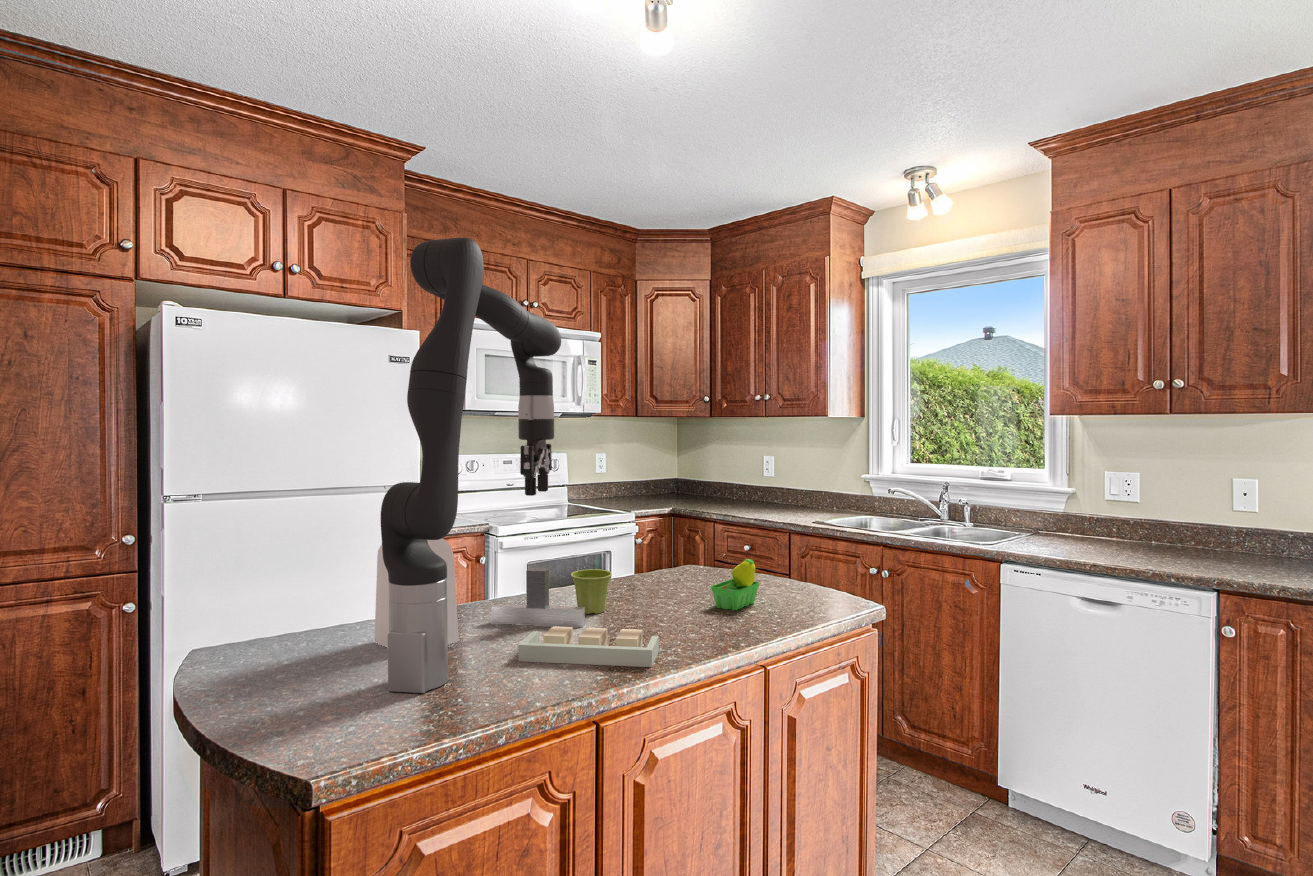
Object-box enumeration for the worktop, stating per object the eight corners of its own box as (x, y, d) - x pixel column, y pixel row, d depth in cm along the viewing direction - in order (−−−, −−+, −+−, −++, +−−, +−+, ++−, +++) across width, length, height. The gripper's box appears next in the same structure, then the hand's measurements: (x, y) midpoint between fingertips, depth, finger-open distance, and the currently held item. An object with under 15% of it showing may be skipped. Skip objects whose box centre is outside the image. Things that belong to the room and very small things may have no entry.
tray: (652, 667, 125) (652, 650, 125) (518, 661, 129) (518, 644, 129) (658, 651, 134) (658, 636, 134) (533, 646, 137) (533, 631, 137)
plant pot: (620, 609, 165) (620, 572, 164) (595, 619, 157) (595, 579, 156) (588, 604, 170) (588, 567, 169) (562, 613, 162) (562, 575, 161)
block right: (637, 661, 129) (637, 639, 129) (615, 660, 130) (615, 638, 130) (642, 650, 135) (642, 629, 135) (621, 649, 136) (621, 629, 135)
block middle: (599, 659, 130) (599, 637, 130) (578, 658, 131) (578, 636, 131) (607, 649, 136) (607, 628, 136) (587, 648, 137) (587, 627, 137)
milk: (459, 641, 141) (457, 510, 140) (404, 655, 132) (402, 516, 132) (427, 630, 149) (426, 505, 148) (374, 642, 140) (372, 510, 140)
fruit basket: (733, 598, 175) (733, 552, 174) (765, 603, 169) (765, 556, 169) (708, 608, 165) (708, 559, 165) (742, 614, 160) (742, 564, 160)
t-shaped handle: (581, 629, 150) (581, 572, 149) (490, 625, 152) (490, 569, 152) (585, 625, 152) (585, 569, 152) (495, 621, 155) (495, 567, 155)
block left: (564, 658, 131) (564, 636, 131) (543, 657, 132) (543, 635, 131) (573, 647, 137) (572, 627, 137) (552, 647, 137) (552, 626, 137)
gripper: (529, 417, 159) (530, 490, 159) (507, 417, 145) (508, 496, 145) (562, 417, 158) (563, 490, 158) (543, 417, 144) (544, 497, 144)
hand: (536, 493), depth 152 cm, fingers open, 8 cm apart
